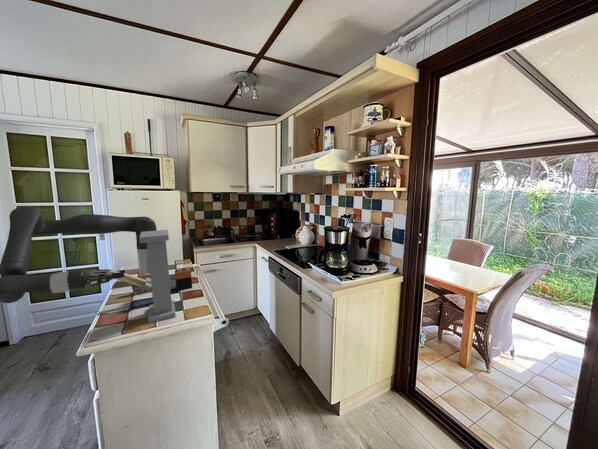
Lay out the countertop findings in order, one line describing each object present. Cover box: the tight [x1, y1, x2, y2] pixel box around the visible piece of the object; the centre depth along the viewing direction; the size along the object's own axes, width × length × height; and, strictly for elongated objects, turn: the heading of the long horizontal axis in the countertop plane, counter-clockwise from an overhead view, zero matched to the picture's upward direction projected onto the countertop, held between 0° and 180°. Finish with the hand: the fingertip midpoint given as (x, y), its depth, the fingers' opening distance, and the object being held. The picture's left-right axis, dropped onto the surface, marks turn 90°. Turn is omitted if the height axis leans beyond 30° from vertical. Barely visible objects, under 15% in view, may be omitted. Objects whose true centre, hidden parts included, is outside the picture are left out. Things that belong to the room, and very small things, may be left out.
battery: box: [174, 266, 193, 291], centre depth 122 cm, size 4×7×10 cm, turn 123°
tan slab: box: [108, 268, 152, 293], centre depth 105 cm, size 10×16×2 cm, turn 118°
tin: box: [131, 274, 152, 295], centre depth 119 cm, size 15×3×8 cm, turn 123°
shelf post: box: [139, 229, 177, 324], centre depth 97 cm, size 12×9×32 cm
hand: (124, 273), depth 103 cm, fingers closed on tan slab, 2 cm apart
